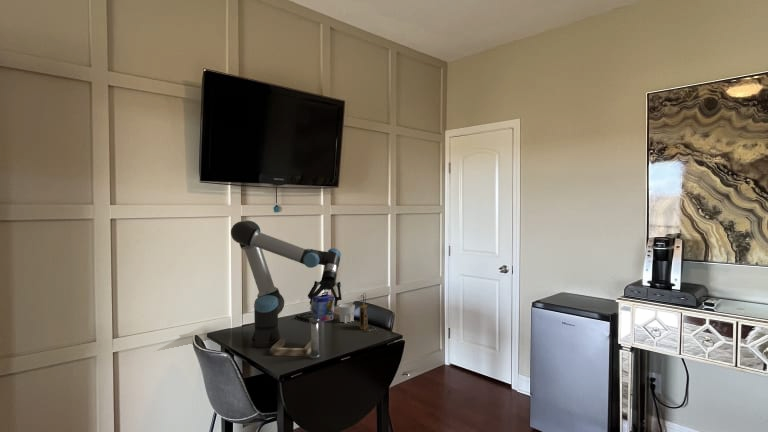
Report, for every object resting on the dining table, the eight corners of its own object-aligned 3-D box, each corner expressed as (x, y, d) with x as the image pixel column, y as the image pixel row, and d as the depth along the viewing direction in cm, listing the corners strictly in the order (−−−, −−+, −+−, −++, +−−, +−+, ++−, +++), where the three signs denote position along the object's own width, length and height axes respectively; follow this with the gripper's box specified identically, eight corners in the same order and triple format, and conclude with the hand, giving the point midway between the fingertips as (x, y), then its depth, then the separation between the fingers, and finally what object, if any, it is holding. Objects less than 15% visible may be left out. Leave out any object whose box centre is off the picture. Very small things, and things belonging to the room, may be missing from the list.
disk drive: (294, 319, 259) (310, 323, 250) (294, 315, 259) (310, 319, 250) (307, 316, 267) (323, 319, 258) (307, 312, 267) (323, 315, 258)
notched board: (269, 355, 194) (269, 348, 194) (281, 344, 210) (280, 338, 210) (307, 356, 193) (307, 349, 193) (315, 345, 209) (315, 339, 209)
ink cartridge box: (317, 323, 202) (318, 293, 202) (311, 320, 206) (312, 292, 206) (334, 319, 209) (334, 291, 208) (328, 317, 213) (328, 289, 212)
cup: (337, 319, 256) (337, 304, 256) (353, 318, 259) (353, 303, 259) (339, 324, 247) (339, 307, 247) (356, 323, 249) (356, 306, 249)
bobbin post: (308, 359, 189) (308, 320, 189) (311, 355, 194) (310, 317, 194) (318, 359, 189) (318, 320, 188) (321, 355, 194) (321, 317, 193)
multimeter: (375, 332, 229) (375, 297, 229) (358, 331, 231) (358, 296, 231) (380, 325, 244) (380, 291, 243) (364, 324, 246) (364, 291, 245)
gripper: (351, 279, 221) (345, 315, 206) (310, 277, 224) (301, 313, 208) (349, 270, 216) (343, 307, 200) (307, 269, 218) (298, 305, 203)
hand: (321, 310), depth 204 cm, fingers closed on ink cartridge box, 10 cm apart
